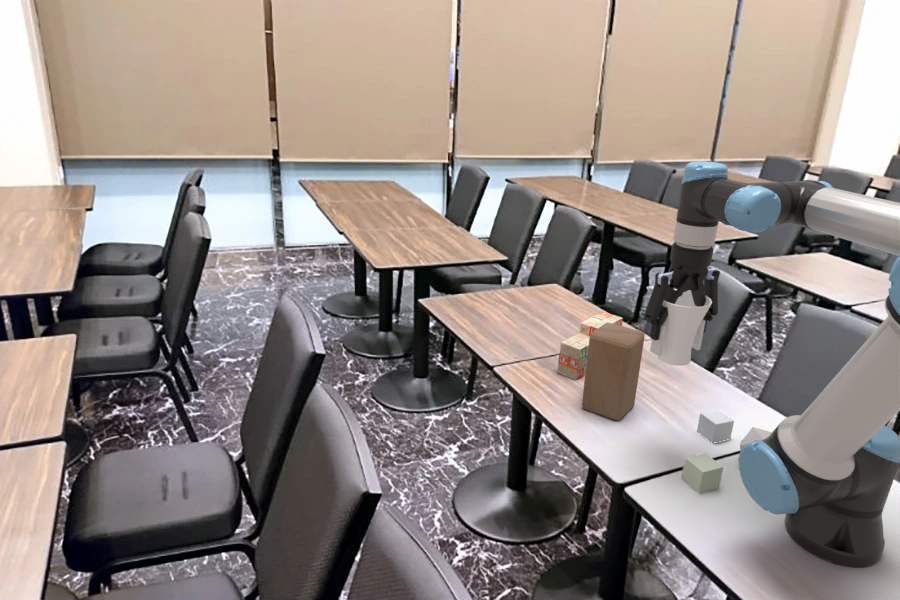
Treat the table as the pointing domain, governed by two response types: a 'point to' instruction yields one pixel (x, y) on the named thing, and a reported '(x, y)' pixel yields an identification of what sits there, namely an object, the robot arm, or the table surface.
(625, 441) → the table surface
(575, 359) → the stack of blocks
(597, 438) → the table surface
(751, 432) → the grey block
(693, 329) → the cup
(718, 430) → the light gray cube
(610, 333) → the block
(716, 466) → the sage cube
